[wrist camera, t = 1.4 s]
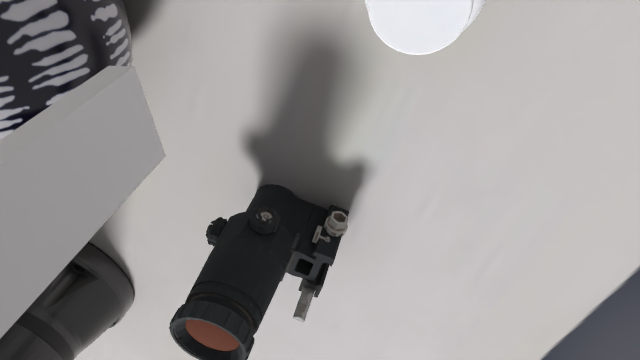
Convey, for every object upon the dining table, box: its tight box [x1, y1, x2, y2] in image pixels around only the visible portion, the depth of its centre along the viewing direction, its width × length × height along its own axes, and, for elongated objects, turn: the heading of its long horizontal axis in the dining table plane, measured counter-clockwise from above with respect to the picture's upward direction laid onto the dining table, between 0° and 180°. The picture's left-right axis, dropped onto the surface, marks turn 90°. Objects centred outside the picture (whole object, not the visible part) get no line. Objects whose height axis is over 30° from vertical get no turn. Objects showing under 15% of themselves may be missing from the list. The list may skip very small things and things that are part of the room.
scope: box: [169, 185, 349, 360], centre depth 34 cm, size 8×14×10 cm
